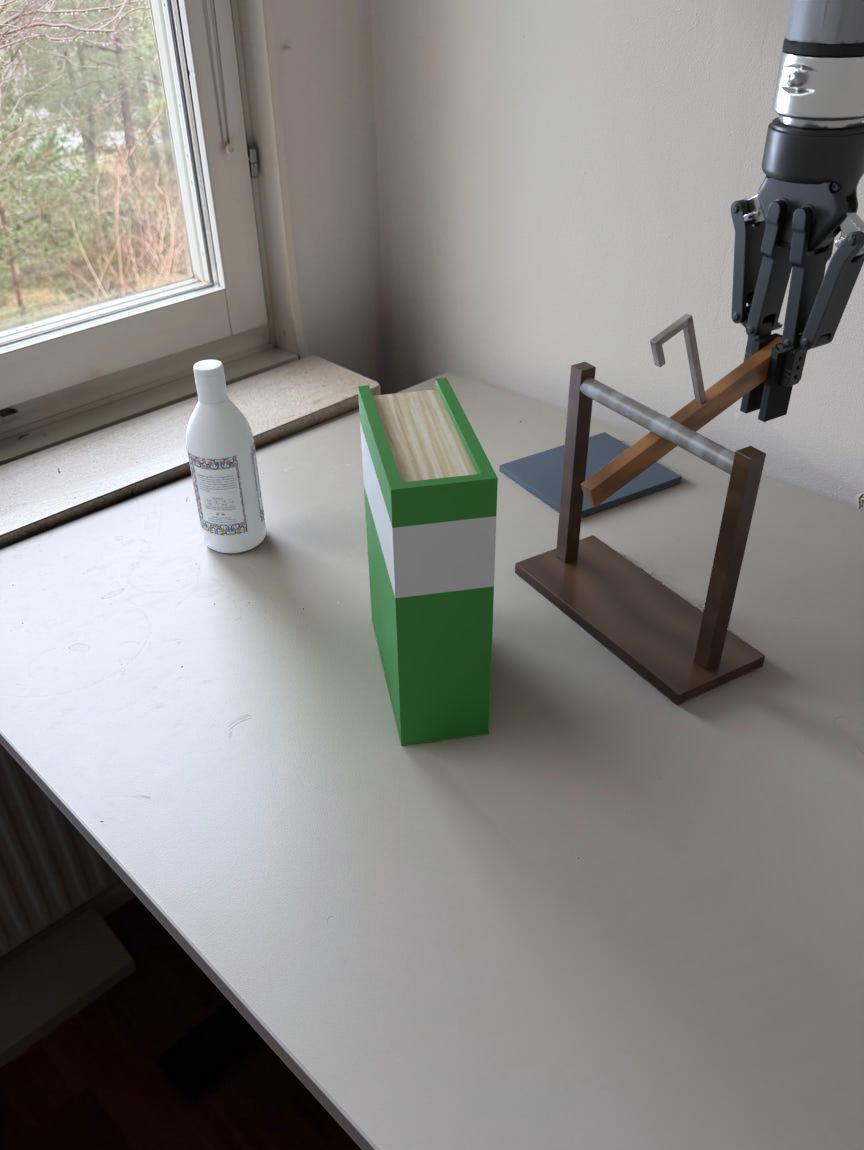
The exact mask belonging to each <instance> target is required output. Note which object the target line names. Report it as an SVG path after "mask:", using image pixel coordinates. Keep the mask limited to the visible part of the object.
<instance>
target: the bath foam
mask: <svg viewBox="0 0 864 1150" xmlns="http://www.w3.org/2000/svg"><path fill="white" fill-rule="evenodd" d="M192 368H193V369H192V370H193V374H194V375H193V376H194V382H195V388H196V393H197V398H198V401H197V403H196V405H195V407H194V409H193V411H192V413H191V415H190V418H189V421H188V423H187V427H186V434H185V444H186V452H187V458H188V463H189V469H190V475H191V481H192V486H193V490H194V496H195V501H196V506H197V507H196V508H197V513H198V518H199V523H200V524H199V525H200V527H201V534H202V538H203V542H204V544H205V545H206V546H207V547H208V548H209V549H211V550H213V551H215V552H218V553H221V554H239V553H244V552H248V551H251V550H253V549H254V548H256V547H258V546H259V545H261V543H263V541H264V539H266V535H267V526H266V519H265V510H264V503H263V495H262V489H261V481H260V473H259V465H258V459H257V451H256V445H255V443H256V442H255V438H254V435H253V431H252V427H251V425H250V423H249V421H248V420H247V417H245V414H243V412H242V411H241V410H240V408H239V407H238V406H237V404H235V402H233V401H232V400H231V399H230V398H229V396H228V390H227V382H226V376H225V375H226V374H225V368H224V365H223V362H222V361H221V360H218V359H203V360H199V361H197V362H195V363H194V364H193V367H192Z"/></svg>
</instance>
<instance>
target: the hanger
mask: <svg viewBox="0 0 864 1150" xmlns="http://www.w3.org/2000/svg"><path fill="white" fill-rule="evenodd" d="M681 331H683V338H684V343H685V348H686V354H687V355H686V356H687V360H688V365H689V371H690V377H691V378H690V379H691V383H692V390H693V393H694V394H693V395H694V398H693V399H692V400H691V401H690V402H688V403H687V404H685V405H684V406H683V407H681V408H680V409H679V410H677V411H676V412H675V413H673V414H672V415H670V416H669V418H670V419H672V420H674V421H676V422H678V423H680V424H681V425H683V426H685V427H687V428H689V429H691V430H693V431H695V432H697V433H698V431H699V430H700V429H702V428H703V427H704V426H706V425H708V424H709V423H710V422H711V421H713V420H714V419H715V418H716V417H718V416H719V415H721V414H722V413H723V412H725V411H726V410H727V409H729V408H730V407H732V406H733V405H734V404H735V403H737V402H738V401H739V400H740V399H742V397H743V396H744V395H746V394H747V393H748V392H750V391H751V390H752V389H754V388H755V387H756V386H758V385H759V384H760V383H762V382H763V381H764V380H766V376H767V371H768V366H769V362H770V356H771V351H772V347H775V344H777V343H781V342H782V338H781V337H777V338H775V339H774V340H773V341H771V342H770V343H769V344H767V345H766V346H765V347H763V348H762V349H761V350H759V351H758V352H757V353H755V354H754V355H753V356H751V357H750V358H749V359H747V360H746V361H744V360H743V361H744V362H742V363H740V364H739V365H738V366H736V367H735V368H734V369H732V370H731V371H729V372H728V373H727V374H725V375H724V376H723V377H722V378H720V379H719V380H717V381H716V382H715V383H714V384H712V385H711V386H710V387H708V388H707V389H705V384H704V379H703V372H702V366H701V362H700V361H701V360H700V355H699V348H698V342H697V335H696V330H695V324H694V318H693V315H692V314H689V313H685V314H684V315H682V316H681V317H679V318H678V319H676V320H675V321H674V322H672V323H671V324H670V325H668V326H667V327H666V328H664V329H663V330H662V331H660V332H659V333H658V334H656V335H655V336H654V337H652V338H650V339H649V343H650V344H649V345H650V349H651V353H652V354H651V355H652V359H653V363H654V366H656V367H659V368H662V367H663V366H665V365H666V364H667V362H666V357H665V353H664V348H663V345H664V344H666V342H668V341H669V340H671V339H672V338H673V337H675V336H676V335H678V334H679V333H680V332H681ZM677 447H678V446H677V445H675V444H673V443H671V442H670V441H668V440H666V439H664V438H662V437H660V436H659V435H657V434H655V433H653V432H651V431H649V432H648V433H646V434H645V435H644V436H642V437H641V438H640V439H639V440H637V441H636V442H635V443H633V444H632V445H631V446H630V447H629V448H628V449H627V450H625V451H624V452H623V453H621V454H620V455H619V456H617V457H616V458H615V459H613V460H612V461H611V462H609V463H608V464H607V465H605V466H604V467H603V468H601V469H600V470H599V471H597V472H596V473H595V474H593V475H592V476H591V477H589V478H588V479H587V480H585V481H584V482H583V483H581V487H582V490H583V494H584V497H585V500H586V501H587V502H588V503H590V504H591V505H593V506H595V507H597V506H598V505H600V504H601V503H602V502H604V501H605V500H606V499H608V498H609V497H610V496H611V495H613V494H614V493H615V492H617V491H618V490H619V489H621V488H622V487H623V486H625V485H626V484H627V483H629V482H630V481H631V480H633V479H634V478H635V477H637V476H638V475H639V474H641V473H642V472H643V471H645V470H646V469H647V468H649V467H650V466H651V465H653V464H654V463H655V462H657V463H658V461H660V460H661V459H662V458H663V457H665V456H666V455H668V454H669V453H670V452H671V451H673V450H674V449H675V448H677Z"/></svg>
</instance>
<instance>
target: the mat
mask: <svg viewBox="0 0 864 1150" xmlns="http://www.w3.org/2000/svg"><path fill="white" fill-rule="evenodd" d="M629 447H631V446H630V445H628V444H627V443H625V442H623V441H622V440H619V439H618V438H616V437H614V436H612V435H611V434H608V433H607V432H606V431H604V432H601V433H597V434H594V435H591V436H589V444H588V455H587V465H586V476H585V480H587V479H588V478H589V477H591V476H592V475H593V474H595V473H596V472H597V471H599V470H600V469H601V468H603V467H604V466H605V465H607V464H608V463H609V462H611V461H612V460H613V459H615V458H616V457H617V456H619V455H620V454H621V453H623V452H624V451H625V450H627V449H628V448H629ZM564 448H565V444H562V445H559V446H556V447H553V448H549V449H547V450H543V451H540V452H537V453H533V454H531V455H527V456H524V457H521V458H518V459H517V458H516V459H514V460H512V461H508V462H505V463H502V464H499V465H498V467H499V468H498V470H499V472H500V473H502V474H503V475H505V476H506V477H508V478H509V479H510V480H512V481H513V482H514V483H516V484H518V485H519V486H520V487H522V488H523V489H524V490H526V491H528V492H529V493H530V494H531V495H533V496H534V497H536V498H538V499H539V500H540V501H541V502H543V503H544V504H546V505H547V506H549V507H550V508H552V509H553V510H555V511H556V512H557V513H559V511H560V498H561V486H562V473H563V461H564ZM682 479H683V476H682V475H680V474H678V473H676V472H675V471H673V470H671V469H669V468H668V467H666V466H664V465H663V464H661V463H659V462H658V461H657V462H655V463H654V464H653V465H651V466H650V467H649V468H647V469H646V470H645V471H643V472H642V473H641V474H639V475H638V476H637V477H635V478H634V479H633V480H631V481H630V482H629V483H627V484H626V485H625V486H623V487H622V488H621V489H619V490H618V491H617V492H615V493H614V494H613V495H611V496H610V497H609V498H608V499H606V500H605V501H604V502H602V503H601V504H600V505H598V506H597V507H595V506H593V505H591V504H590V503H588V502H587V501H586V500H585V497H584V496H583V507H582V517H581V518H583V517H586V516H589V515H592V514H594V513H598V512H600V511H603V510H606V509H609V508H612V507H615V506H618V505H620V504H623V503H626V502H628V501H632V500H635V499H637V498H640V497H643V496H646V495H648V494H652V493H654V492H657V491H660V490H663V489H666V488H669V487H672V486H675V485H677V484H680V483H682Z"/></svg>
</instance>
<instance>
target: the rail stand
mask: <svg viewBox="0 0 864 1150" xmlns="http://www.w3.org/2000/svg"><path fill="white" fill-rule="evenodd" d="M596 370H597V367H596V366H595V365H592V364H590V363H588V362H587V361H581V362H578V363H575V364H571V365H570V374H569V386H568V399H567V413H566V422H565V423H566V424H565V436H564V445H565V448H564V461H563V473H562V486H561V498H560V511H559V512H558V524H557V537H556V548H553V549H550V550H548V551H547V550H546V551H544V552H542V553H540V554H537V555H533V556H531V557H528V558H526V559H522V560H520V561H517V562H515V564H514V573H515V574H516V575H517V576H518V577H519V578H521V579H522V580H523V581H524V582H525V583H527V584H528V585H529V586H530V587H532V588H533V589H534V590H536V592H537V593H539V594H540V595H542V596H543V597H544V598H545V599H546V600H547V601H549V602H550V603H551V604H552V605H553V606H555V607H556V608H557V609H559V610H560V611H561V612H562V613H564V614H565V615H566V616H567V617H568V618H570V619H571V620H572V621H573V622H574V623H576V624H577V625H578V626H579V627H580V628H582V629H583V630H584V631H586V632H587V633H588V634H589V635H590V636H592V637H593V638H594V639H595V640H597V642H599V643H600V644H601V645H602V646H604V647H605V648H607V649H608V650H609V651H610V652H611V653H612V654H614V655H615V656H616V657H618V658H619V659H620V660H621V661H622V662H624V664H626V665H627V666H628V667H630V668H631V669H632V670H633V671H635V672H636V673H637V674H638V675H640V677H642V678H643V680H645V681H646V682H648V683H649V684H650V685H652V686H653V687H654V688H655V689H656V690H658V691H659V692H660V693H661V694H663V695H664V696H665V697H666V698H667V699H668V700H670V702H672V703H674V704H675V705H676V706H679V705H681V704H683V703H685V702H687V701H689V700H691V699H694V698H696V697H698V696H700V695H703V694H705V693H707V692H710V691H712V690H714V689H716V688H719V687H720V686H722V685H724V684H726V683H729V682H732V681H733V680H735V679H738V678H740V677H742V676H744V675H746V674H749V673H751V672H753V671H755V670H757V669H760V668H761V667H763V666H764V662H765V658H766V655H765V654H763V652H760V651H759V650H757V648H755V647H753V646H752V645H751V644H749V642H746V641H745V640H744V639H742V638H741V637H739V636H738V635H737V634H735V633H734V632H732V631H731V630H729V625H730V620H731V615H732V611H733V607H734V602H735V598H736V592H737V589H738V583H739V579H740V575H741V570H742V565H743V562H744V556H745V553H746V547H747V543H748V538H749V533H750V529H751V525H752V521H753V516H754V512H755V506H756V503H757V497H758V493H759V489H760V484H761V480H762V475H763V471H764V466H765V461H766V457H767V453H766V452H765V451H762V450H760V449H758V448H756V447H754V446H753V445H749V446H745V447H742V448H740V449H737V450H735V451H733V450H732V449H729V448H727V447H726V446H725V445H722V444H720V443H718V442H716V441H714V440H712V439H710V438H708V437H707V436H704V435H703V434H701V433H699V432H698V431H697V432H695V431H693V430H691V429H689V428H687V427H685V426H683V425H681V424H680V423H678V422H676V421H674V420H672V419H670V417H668V416H666V415H664V414H662V413H660V412H659V411H657V410H655V409H653V408H651V407H649V406H647V405H645V404H644V403H642V402H640V401H637V400H636V399H634V398H631V397H630V396H628V395H626V394H625V393H622V392H620V391H619V390H616V389H615V388H612V387H611V386H608V385H606V384H605V383H603V382H601V381H599V380H597V379H595V378H596V372H597V371H596ZM593 401H594V402H596V403H598V404H600V405H602V406H604V407H606V408H607V409H609V410H611V411H612V412H615V413H617V414H618V415H620V416H621V417H624V418H626V419H627V420H629V421H631V422H633V423H635V424H637V425H639V426H640V427H642V428H644V429H646V430H648V431H649V432H653V433H655V434H657V435H659V436H660V437H662V438H664V439H666V440H668V441H670V442H671V443H673V444H675V445H677V447H678V448H681V449H683V451H686V452H688V453H689V454H692V455H694V456H695V457H697V458H699V459H701V460H703V461H705V462H706V463H708V464H710V465H712V466H713V467H715V468H718V469H719V470H721V471H723V472H725V473H726V474H728V475H729V481H728V486H727V489H726V490H727V491H726V496H725V500H724V506H723V512H722V516H721V520H720V527H719V531H718V532H719V533H718V536H717V541H716V546H715V551H714V556H713V560H712V561H713V562H712V567H711V572H710V576H709V581H708V587H707V592H706V597H705V601H704V606H703V610H701V609H699V608H698V607H696V606H695V605H694V604H693V603H691V602H689V601H688V600H687V599H685V598H684V597H683V596H681V595H680V594H678V593H676V591H674V590H672V589H671V588H669V586H667V585H666V584H663V582H661V581H660V580H658V579H656V578H655V577H654V576H652V575H651V574H649V572H647V571H645V570H644V569H642V567H639V565H637V564H635V563H634V562H632V560H630V559H628V558H627V557H625V556H624V555H622V554H621V553H619V552H618V551H617V550H615V549H614V548H612V547H611V546H610V545H608V544H607V543H605V542H604V541H602V540H601V539H600V538H598V537H597V536H595V535H594V534H592V535H589V536H586V537H584V538H581V528H582V527H581V526H582V518H583V517H582V507H583V496H584V494H583V490H582V487H581V483H583V482H584V481H585V476H586V465H587V455H588V444H589V437H590V433H591V423H592V413H593ZM580 538H581V539H580Z"/></svg>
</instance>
